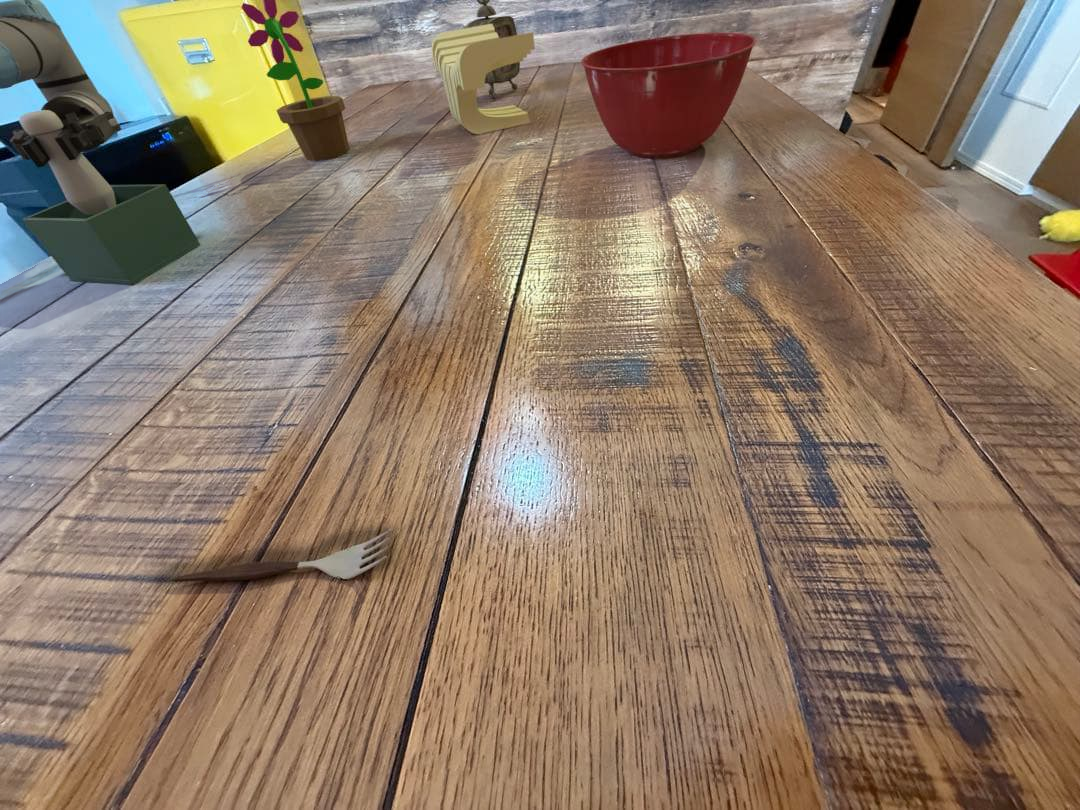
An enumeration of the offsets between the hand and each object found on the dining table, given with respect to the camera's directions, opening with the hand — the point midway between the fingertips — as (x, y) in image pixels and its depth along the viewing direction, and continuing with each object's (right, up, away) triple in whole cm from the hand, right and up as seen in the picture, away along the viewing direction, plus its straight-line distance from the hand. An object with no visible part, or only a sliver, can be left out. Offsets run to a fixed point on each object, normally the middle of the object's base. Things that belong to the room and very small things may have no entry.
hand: (49, 152), depth 66 cm
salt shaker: (-2, -4, +10) cm, 11 cm away
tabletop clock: (+52, +56, +80) cm, 111 cm away
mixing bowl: (+87, +15, +29) cm, 93 cm away
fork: (+46, -45, -31) cm, 71 cm away
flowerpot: (+14, +26, +53) cm, 61 cm away
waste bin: (-1, -10, +15) cm, 18 cm away
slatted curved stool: (+52, +34, +56) cm, 84 cm away
